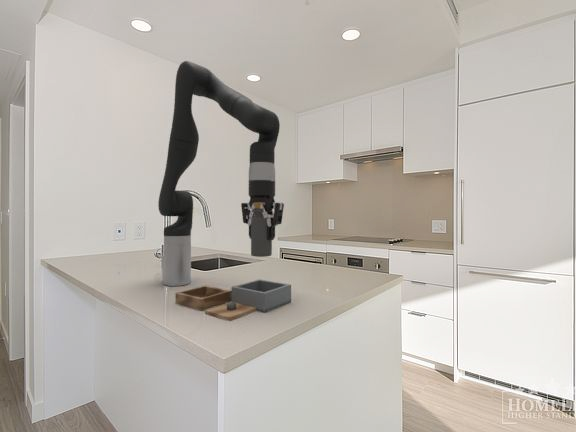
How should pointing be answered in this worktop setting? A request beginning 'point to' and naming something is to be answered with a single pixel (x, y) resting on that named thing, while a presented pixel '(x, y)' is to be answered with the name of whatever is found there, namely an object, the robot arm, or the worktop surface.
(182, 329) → the worktop surface
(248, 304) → the bin
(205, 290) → the tray
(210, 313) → the corral lid
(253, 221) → the bottle
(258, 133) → the robot arm
